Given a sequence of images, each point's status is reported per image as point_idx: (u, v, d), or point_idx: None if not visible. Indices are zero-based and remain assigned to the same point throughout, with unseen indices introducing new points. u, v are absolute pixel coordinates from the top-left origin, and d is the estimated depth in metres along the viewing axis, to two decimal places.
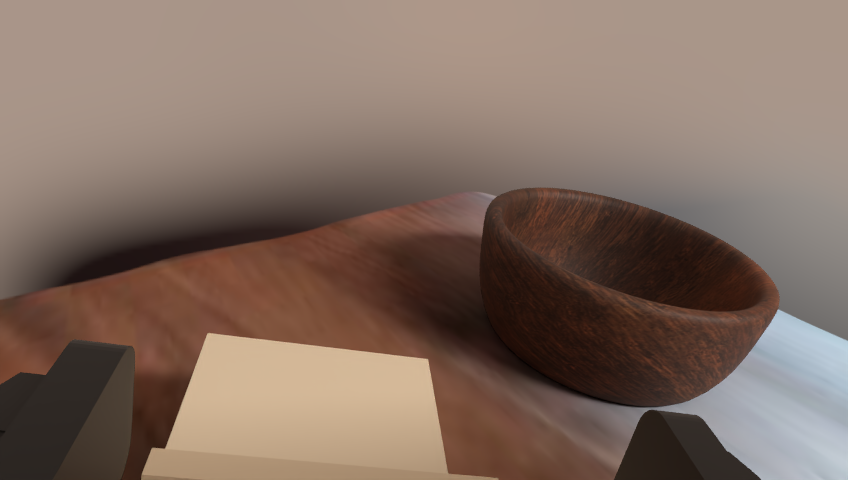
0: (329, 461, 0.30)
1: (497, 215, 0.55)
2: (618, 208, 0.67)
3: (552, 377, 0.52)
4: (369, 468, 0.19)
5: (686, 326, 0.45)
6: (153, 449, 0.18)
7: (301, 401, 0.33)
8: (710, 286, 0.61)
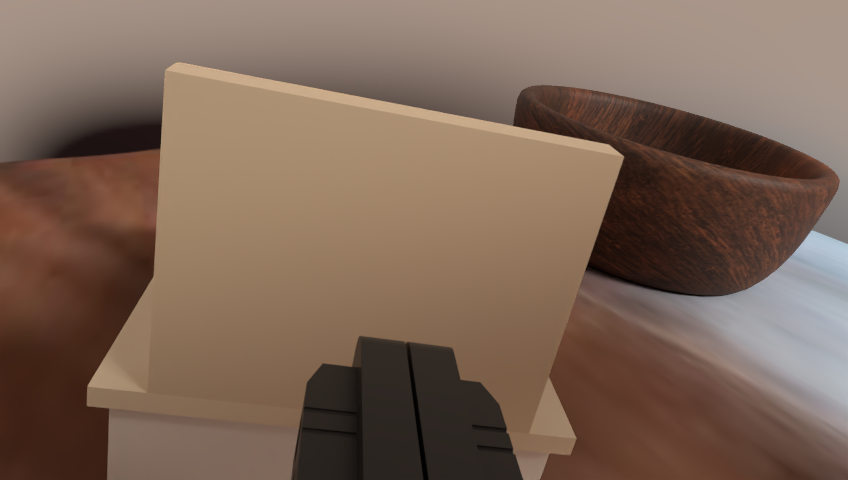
0: None
1: (531, 96, 0.51)
2: (654, 111, 0.63)
3: (593, 263, 0.48)
4: (451, 115, 0.15)
5: (747, 189, 0.41)
6: (179, 62, 0.14)
7: None
8: None
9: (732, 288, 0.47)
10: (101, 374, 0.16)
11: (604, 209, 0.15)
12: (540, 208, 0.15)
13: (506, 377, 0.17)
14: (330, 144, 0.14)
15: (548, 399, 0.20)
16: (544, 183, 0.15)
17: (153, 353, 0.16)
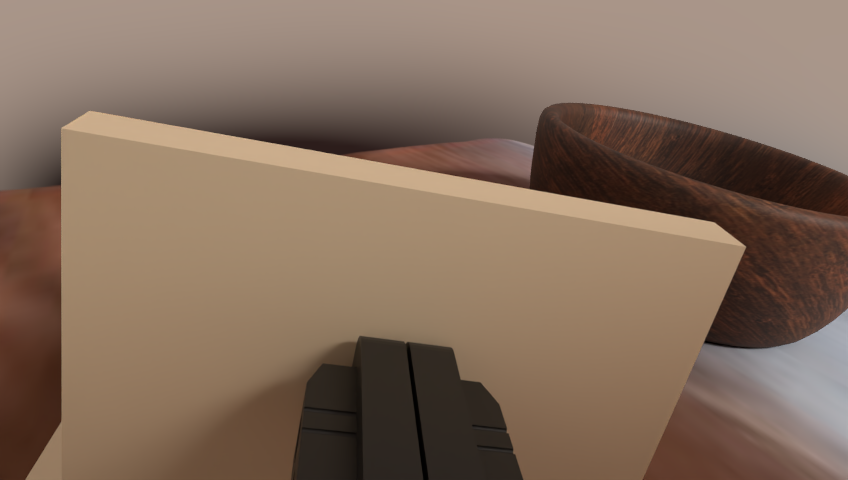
0: None
1: (556, 117, 0.45)
2: (687, 131, 0.57)
3: None
4: (493, 184, 0.10)
5: (815, 232, 0.35)
6: (91, 112, 0.09)
7: None
8: None
9: (788, 340, 0.41)
10: None
11: (711, 318, 0.11)
12: (621, 318, 0.11)
13: None
14: (317, 233, 0.09)
15: None
16: (629, 284, 0.10)
17: None
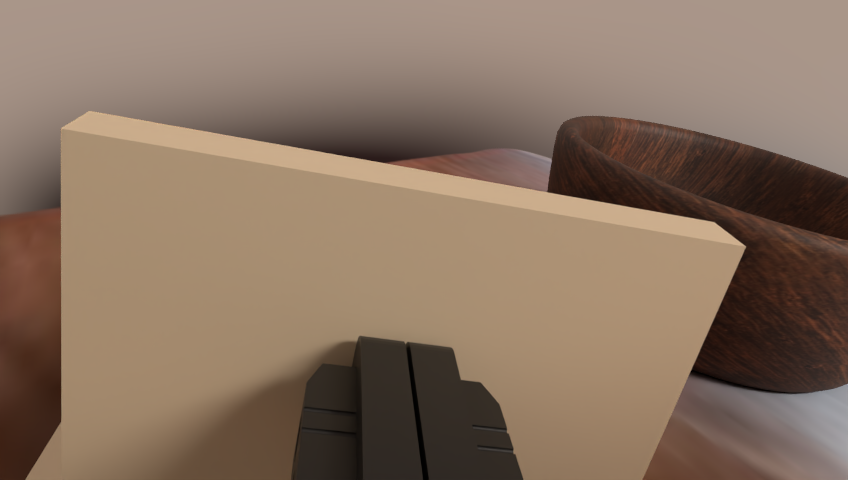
0: None
1: (576, 134, 0.41)
2: (713, 145, 0.52)
3: None
4: (493, 184, 0.10)
5: None
6: (91, 112, 0.09)
7: None
8: None
9: (837, 385, 0.37)
10: None
11: (711, 317, 0.11)
12: (621, 318, 0.11)
13: None
14: (317, 234, 0.09)
15: None
16: (629, 284, 0.10)
17: None
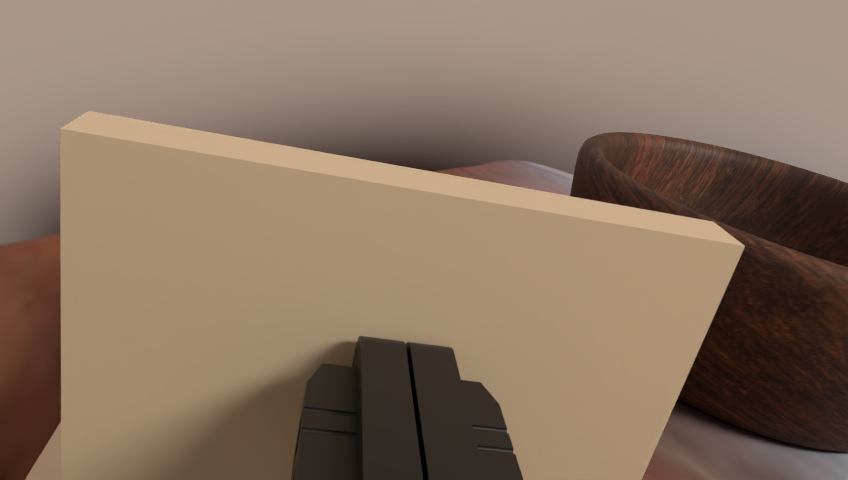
0: None
1: (602, 157, 0.37)
2: (745, 164, 0.48)
3: (698, 405, 0.33)
4: (492, 183, 0.10)
5: None
6: (91, 112, 0.09)
7: None
8: None
9: None
10: None
11: (710, 317, 0.11)
12: (620, 317, 0.11)
13: None
14: (317, 234, 0.09)
15: None
16: (628, 283, 0.10)
17: None
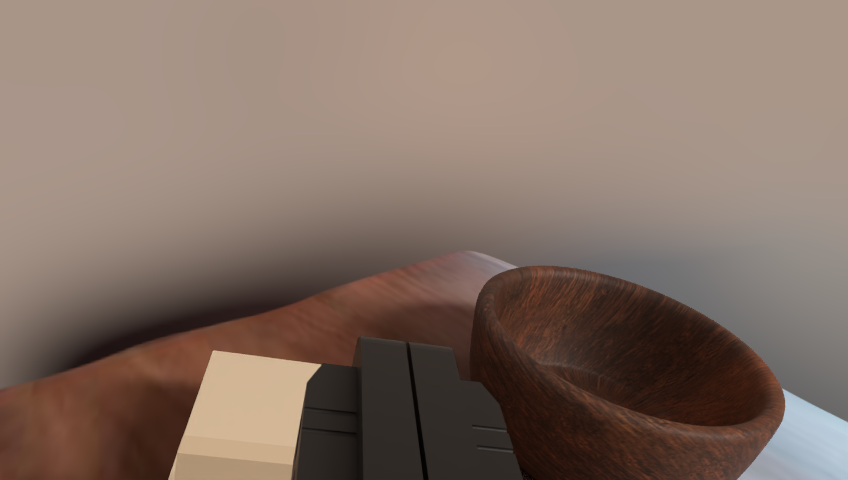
0: None
1: (489, 306, 0.53)
2: (615, 287, 0.64)
3: None
4: None
5: (689, 445, 0.43)
6: (184, 436, 0.25)
7: (290, 408, 0.41)
8: (711, 376, 0.59)
9: None
10: None
11: None
12: None
13: None
14: None
15: None
16: None
17: None
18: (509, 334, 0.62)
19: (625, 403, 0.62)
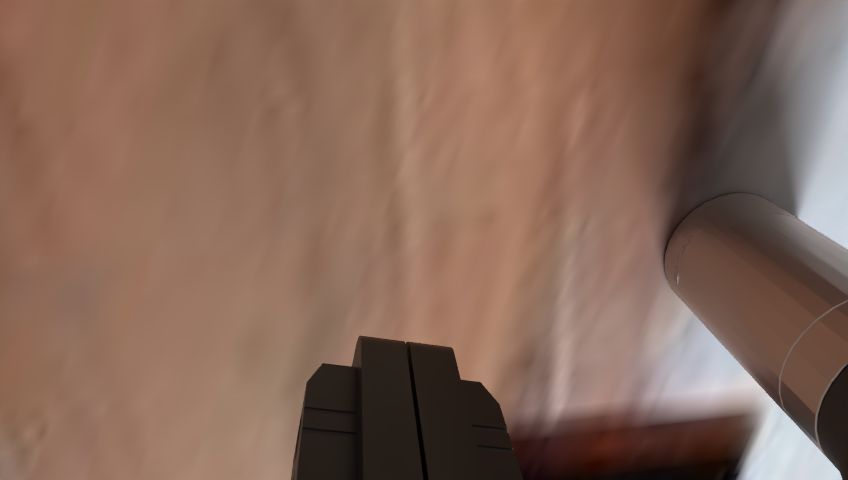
0: None
1: None
2: None
3: None
4: None
5: None
6: None
7: None
8: None
9: None
10: None
11: None
12: None
13: None
14: None
15: None
16: None
17: None
18: None
19: None
